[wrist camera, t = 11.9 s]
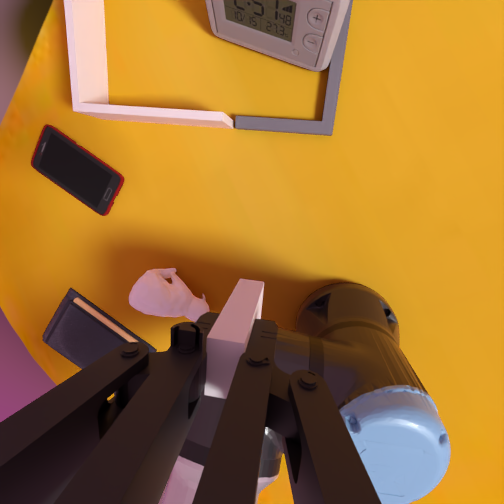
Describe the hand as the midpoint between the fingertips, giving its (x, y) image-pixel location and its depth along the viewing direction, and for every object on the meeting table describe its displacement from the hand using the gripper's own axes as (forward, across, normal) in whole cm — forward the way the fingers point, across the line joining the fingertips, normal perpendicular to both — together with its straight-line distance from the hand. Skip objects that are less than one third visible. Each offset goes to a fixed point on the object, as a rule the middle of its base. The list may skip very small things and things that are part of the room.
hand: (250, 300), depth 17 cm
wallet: (+27, +32, +26) cm, 50 cm away
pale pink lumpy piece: (+27, +15, +13) cm, 33 cm away
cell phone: (+27, +33, -5) cm, 43 cm away
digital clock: (+27, +3, -25) cm, 36 cm away
